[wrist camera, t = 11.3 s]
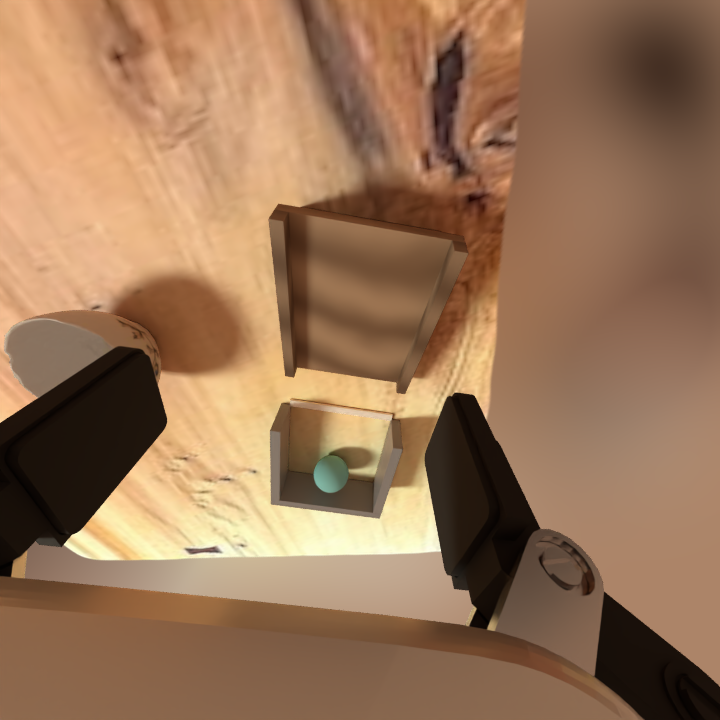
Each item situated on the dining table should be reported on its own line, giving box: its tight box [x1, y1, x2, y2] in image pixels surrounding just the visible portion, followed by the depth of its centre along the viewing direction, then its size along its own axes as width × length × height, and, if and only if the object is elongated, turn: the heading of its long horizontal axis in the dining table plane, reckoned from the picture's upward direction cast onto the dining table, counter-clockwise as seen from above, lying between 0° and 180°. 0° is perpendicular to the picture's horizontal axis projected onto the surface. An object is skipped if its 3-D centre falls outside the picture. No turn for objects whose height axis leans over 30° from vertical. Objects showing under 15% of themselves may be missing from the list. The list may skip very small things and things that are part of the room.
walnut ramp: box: [269, 204, 468, 394], centre depth 28 cm, size 18×14×8 cm
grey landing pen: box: [270, 399, 403, 519], centre depth 41 cm, size 16×16×5 cm
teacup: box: [4, 310, 161, 398], centre depth 32 cm, size 15×12×8 cm
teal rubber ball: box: [314, 455, 349, 493], centre depth 42 cm, size 5×5×5 cm
